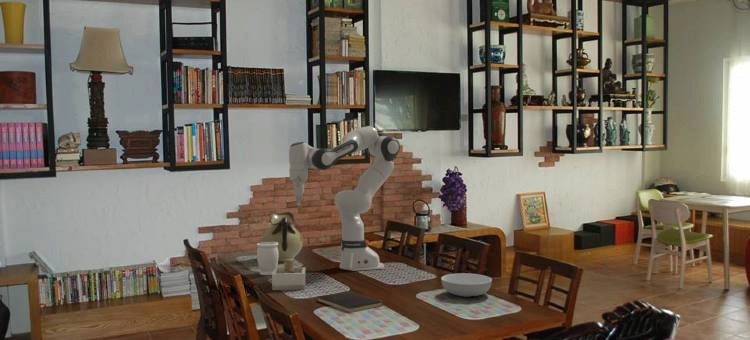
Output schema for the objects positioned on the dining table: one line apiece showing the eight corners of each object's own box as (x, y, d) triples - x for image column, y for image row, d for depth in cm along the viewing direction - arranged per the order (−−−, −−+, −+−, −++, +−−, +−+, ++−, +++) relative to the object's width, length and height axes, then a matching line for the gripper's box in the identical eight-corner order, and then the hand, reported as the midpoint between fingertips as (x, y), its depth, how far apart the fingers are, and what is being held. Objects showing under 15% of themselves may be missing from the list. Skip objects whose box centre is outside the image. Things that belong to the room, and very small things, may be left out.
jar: (274, 276, 313) (273, 245, 312) (254, 275, 315) (253, 244, 314) (281, 271, 324) (281, 241, 323) (262, 271, 326) (261, 241, 325)
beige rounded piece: (282, 254, 372) (281, 210, 370) (313, 258, 358) (312, 213, 356) (253, 261, 354) (252, 215, 352) (285, 265, 340) (284, 218, 338)
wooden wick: (293, 281, 293) (293, 258, 293) (293, 282, 291) (293, 259, 291) (284, 281, 293) (284, 259, 293) (284, 282, 291) (284, 259, 291)
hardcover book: (349, 314, 247) (349, 308, 247) (317, 302, 266) (317, 296, 265) (383, 307, 257) (382, 301, 257) (349, 296, 275) (349, 290, 275)
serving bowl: (460, 303, 259) (460, 286, 259) (431, 292, 278) (431, 276, 277) (502, 296, 269) (502, 280, 268) (472, 286, 287) (471, 271, 287)
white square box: (305, 282, 300) (305, 267, 299) (304, 289, 286) (304, 273, 285) (274, 283, 299) (274, 267, 298) (272, 290, 285) (271, 274, 285)
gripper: (304, 177, 304) (305, 206, 304) (306, 174, 324) (306, 202, 325) (290, 177, 303) (291, 207, 304) (293, 174, 324) (293, 202, 324)
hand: (299, 204), depth 315 cm, fingers open, 8 cm apart
